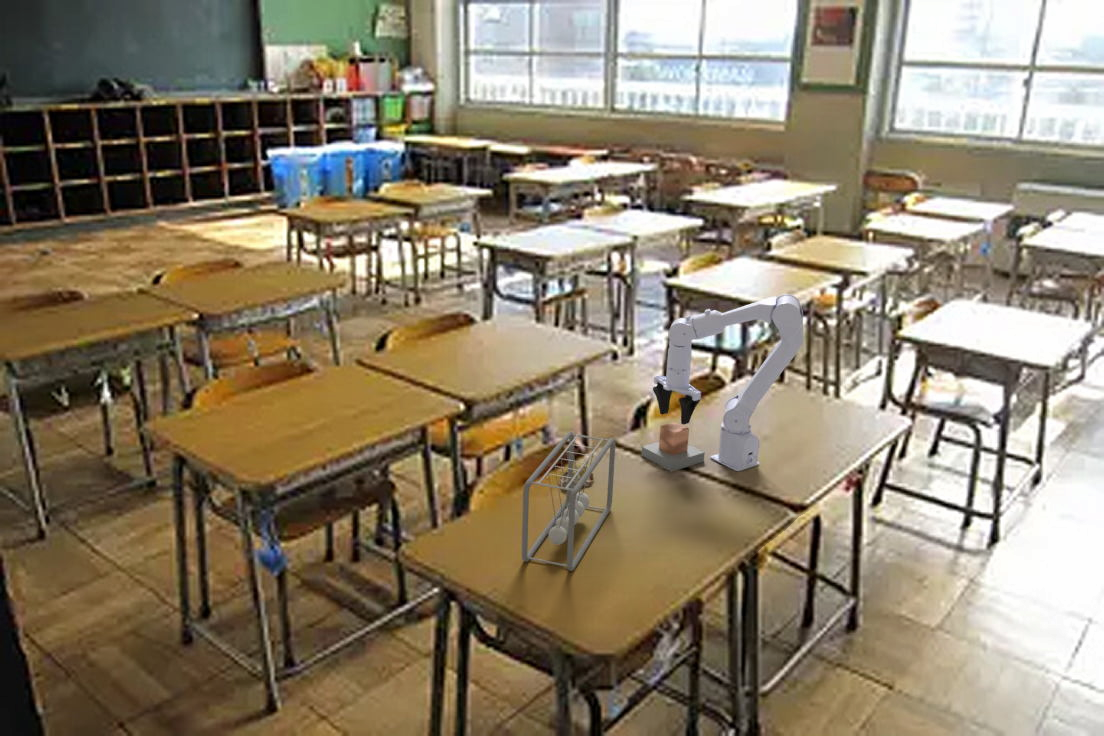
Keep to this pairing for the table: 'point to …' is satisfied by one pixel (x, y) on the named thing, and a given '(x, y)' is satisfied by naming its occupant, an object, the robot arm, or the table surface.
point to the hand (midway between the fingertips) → (674, 418)
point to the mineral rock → (588, 482)
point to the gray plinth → (672, 457)
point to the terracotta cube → (673, 438)
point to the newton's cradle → (568, 501)
